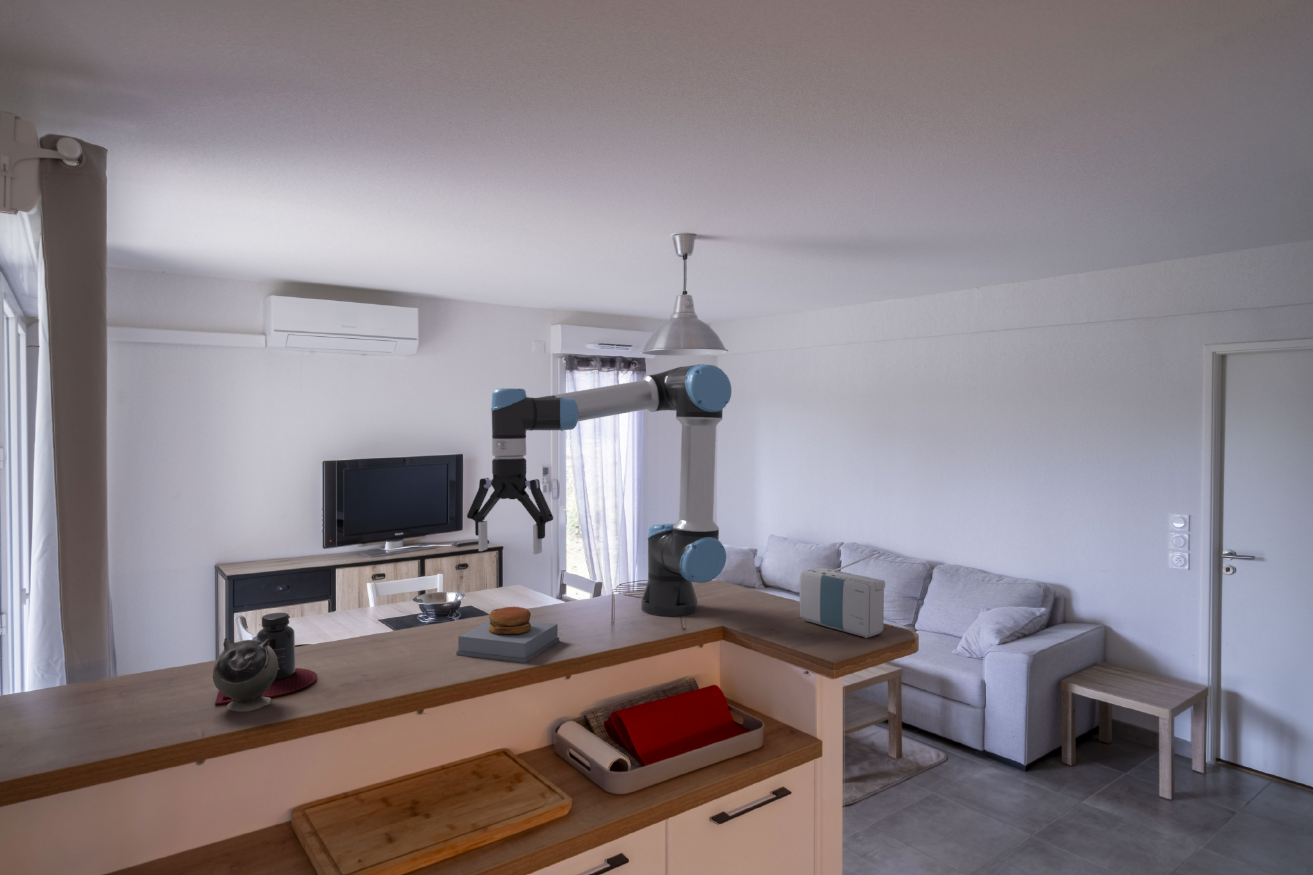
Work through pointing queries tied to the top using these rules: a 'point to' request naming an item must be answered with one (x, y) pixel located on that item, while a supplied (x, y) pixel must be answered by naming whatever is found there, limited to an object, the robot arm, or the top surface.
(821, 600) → the stereo radio cassette player
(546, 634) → the stacking base
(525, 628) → the burger
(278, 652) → the supplement bottle
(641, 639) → the top surface
